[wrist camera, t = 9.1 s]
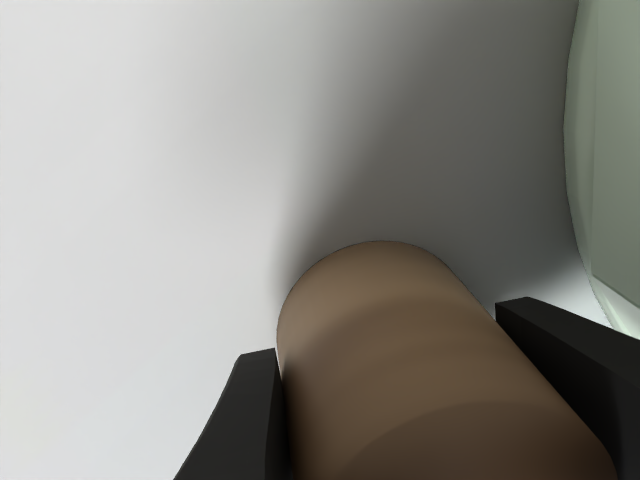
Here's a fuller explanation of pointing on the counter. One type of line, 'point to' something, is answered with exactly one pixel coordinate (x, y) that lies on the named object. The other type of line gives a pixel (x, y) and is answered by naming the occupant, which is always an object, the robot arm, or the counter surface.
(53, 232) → the counter surface
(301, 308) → the bead
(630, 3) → the tray
